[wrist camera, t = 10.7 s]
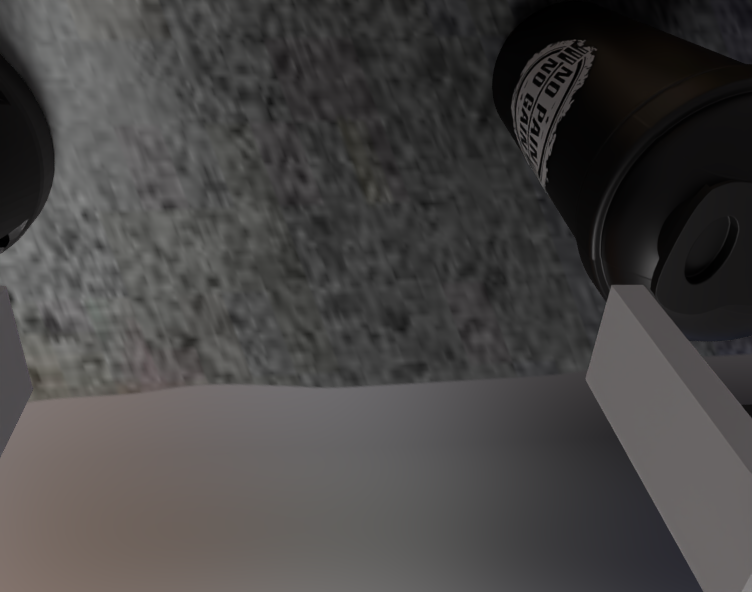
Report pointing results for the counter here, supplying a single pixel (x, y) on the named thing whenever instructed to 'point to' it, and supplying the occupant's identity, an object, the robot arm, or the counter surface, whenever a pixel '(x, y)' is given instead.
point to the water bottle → (640, 157)
